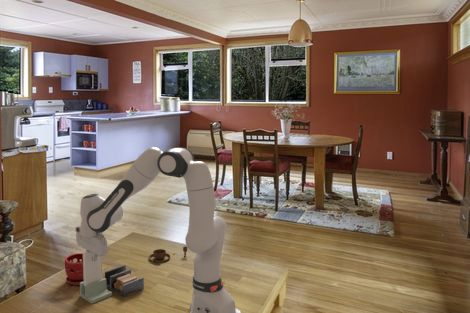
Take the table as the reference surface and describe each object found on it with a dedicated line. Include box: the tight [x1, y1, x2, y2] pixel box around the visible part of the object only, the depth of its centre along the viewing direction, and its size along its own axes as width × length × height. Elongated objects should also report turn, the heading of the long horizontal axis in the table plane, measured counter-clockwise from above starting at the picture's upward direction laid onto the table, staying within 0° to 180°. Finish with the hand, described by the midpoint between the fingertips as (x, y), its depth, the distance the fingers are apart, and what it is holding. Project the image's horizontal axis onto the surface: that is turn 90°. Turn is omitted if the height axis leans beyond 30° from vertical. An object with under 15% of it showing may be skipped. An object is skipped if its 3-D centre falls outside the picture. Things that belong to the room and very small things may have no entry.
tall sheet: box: [82, 251, 103, 286], centre depth 178 cm, size 2×8×15 cm, turn 141°
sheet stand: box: [79, 277, 113, 304], centre depth 178 cm, size 10×10×6 cm
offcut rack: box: [104, 264, 145, 298], centre depth 186 cm, size 15×11×8 cm
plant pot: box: [64, 252, 84, 286], centre depth 192 cm, size 13×13×12 cm
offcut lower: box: [114, 282, 122, 291], centre depth 185 cm, size 7×9×2 cm
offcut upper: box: [117, 273, 138, 285], centre depth 185 cm, size 6×7×2 cm
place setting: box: [148, 245, 188, 266], centre depth 220 cm, size 18×20×6 cm
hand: (92, 259), depth 177 cm, fingers closed on tall sheet, 2 cm apart
